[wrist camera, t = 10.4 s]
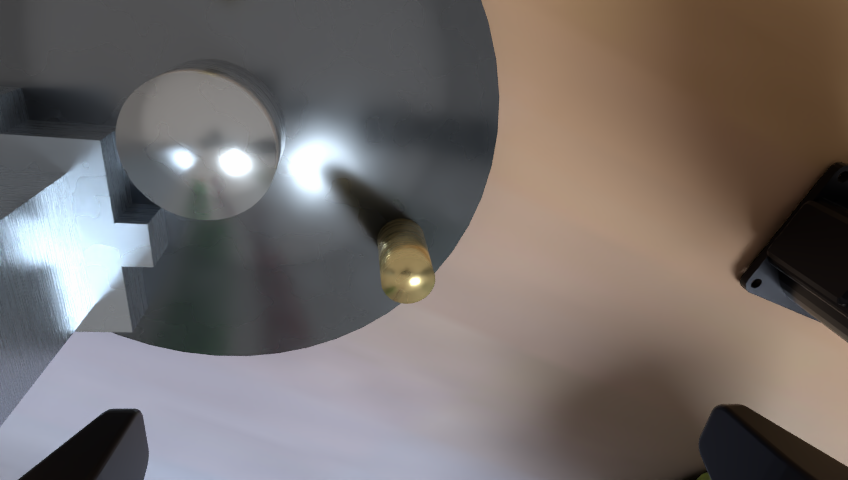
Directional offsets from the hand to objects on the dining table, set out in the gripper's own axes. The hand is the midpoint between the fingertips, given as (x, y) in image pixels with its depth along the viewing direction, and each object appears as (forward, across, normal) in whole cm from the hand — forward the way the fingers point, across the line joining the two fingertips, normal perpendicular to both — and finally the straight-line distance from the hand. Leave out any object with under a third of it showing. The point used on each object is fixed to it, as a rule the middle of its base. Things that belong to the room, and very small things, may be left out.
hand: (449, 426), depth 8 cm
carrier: (+13, +6, -1) cm, 14 cm away
